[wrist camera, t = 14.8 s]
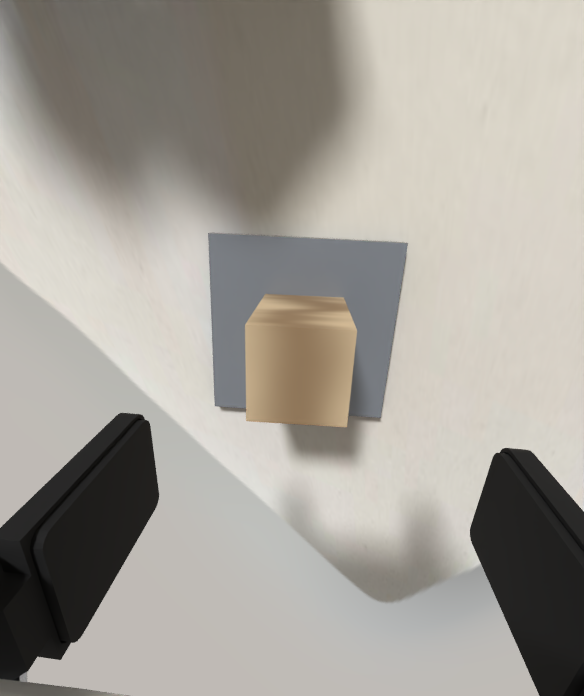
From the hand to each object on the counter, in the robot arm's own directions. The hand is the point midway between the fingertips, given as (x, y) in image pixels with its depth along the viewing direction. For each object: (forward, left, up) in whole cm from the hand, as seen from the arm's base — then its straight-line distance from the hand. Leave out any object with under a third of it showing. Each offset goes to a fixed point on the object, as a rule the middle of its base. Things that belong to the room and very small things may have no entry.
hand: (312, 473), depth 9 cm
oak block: (+1, 0, -14) cm, 14 cm away
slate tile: (+1, 0, -15) cm, 15 cm away
